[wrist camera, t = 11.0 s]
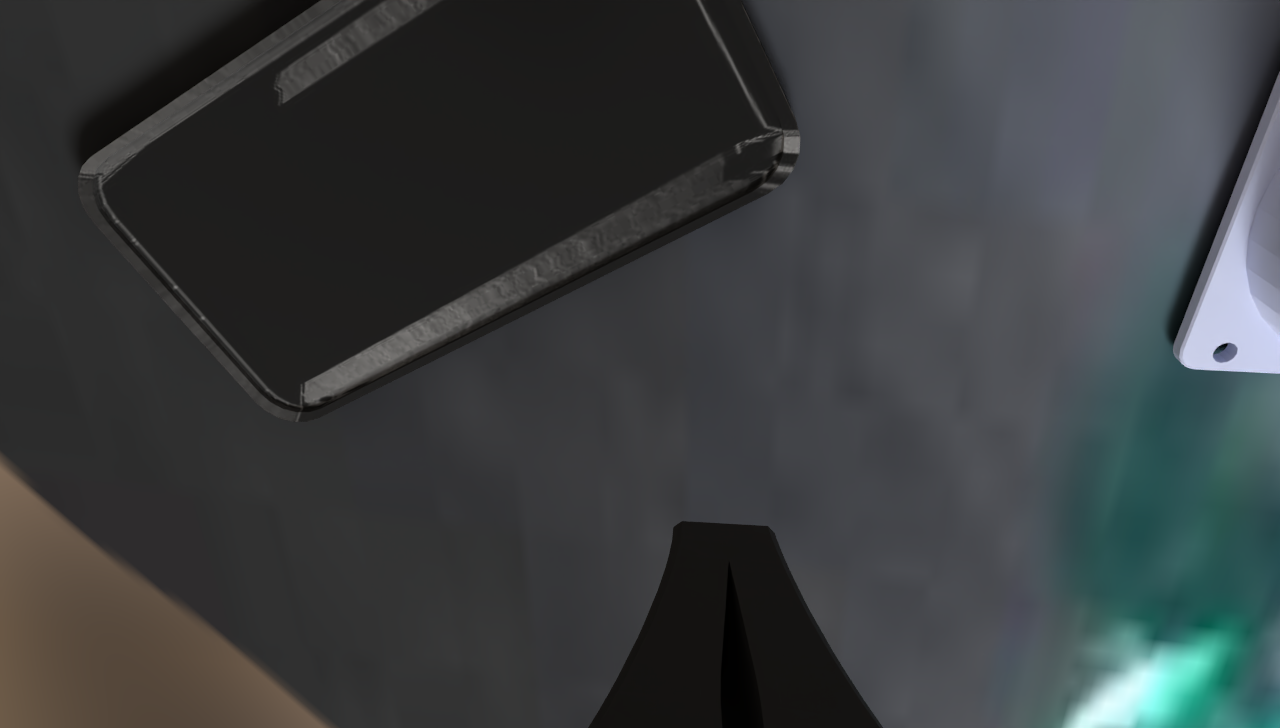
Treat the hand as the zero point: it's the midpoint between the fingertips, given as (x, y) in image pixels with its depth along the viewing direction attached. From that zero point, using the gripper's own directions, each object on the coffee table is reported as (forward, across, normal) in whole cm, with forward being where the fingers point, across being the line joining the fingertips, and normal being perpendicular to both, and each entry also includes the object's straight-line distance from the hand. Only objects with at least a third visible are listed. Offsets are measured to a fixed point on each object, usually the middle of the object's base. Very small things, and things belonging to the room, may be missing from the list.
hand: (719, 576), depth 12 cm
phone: (+10, +6, -3) cm, 12 cm away
